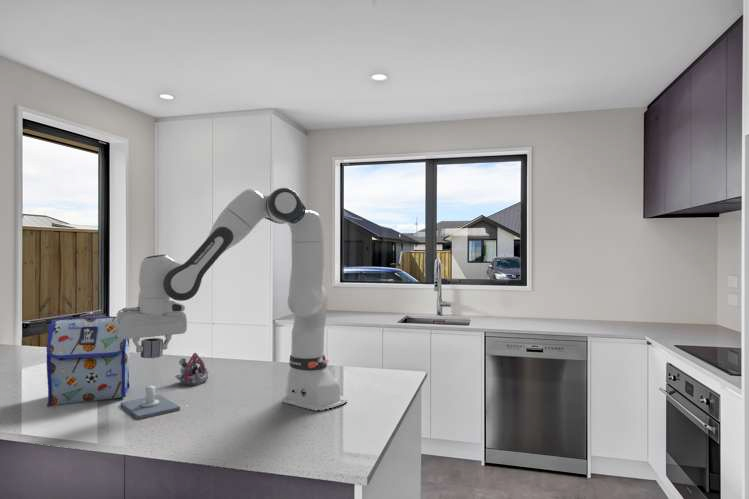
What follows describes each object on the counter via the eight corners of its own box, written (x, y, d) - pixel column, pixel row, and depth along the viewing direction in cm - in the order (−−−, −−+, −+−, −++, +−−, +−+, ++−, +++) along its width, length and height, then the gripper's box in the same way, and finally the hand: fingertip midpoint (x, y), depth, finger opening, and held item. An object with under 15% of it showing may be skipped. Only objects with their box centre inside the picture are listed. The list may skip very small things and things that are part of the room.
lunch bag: (41, 410, 138) (43, 321, 138) (53, 394, 153) (55, 314, 153) (126, 401, 147) (128, 318, 148) (129, 387, 162) (132, 312, 163)
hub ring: (164, 356, 143) (165, 340, 143) (145, 359, 139) (145, 342, 139) (157, 353, 147) (158, 337, 147) (138, 355, 143) (139, 339, 143)
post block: (179, 410, 141) (180, 388, 141) (138, 419, 132) (138, 397, 132) (160, 397, 152) (160, 378, 152) (120, 405, 143) (121, 384, 143)
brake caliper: (199, 381, 163) (183, 353, 166) (178, 397, 166) (162, 369, 168) (219, 373, 174) (203, 347, 176) (199, 389, 177) (184, 362, 179)
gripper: (120, 309, 133) (118, 356, 133) (189, 305, 148) (188, 348, 148) (113, 307, 138) (111, 353, 138) (181, 303, 152) (180, 345, 152)
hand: (152, 350), depth 143 cm, fingers closed on hub ring, 6 cm apart
